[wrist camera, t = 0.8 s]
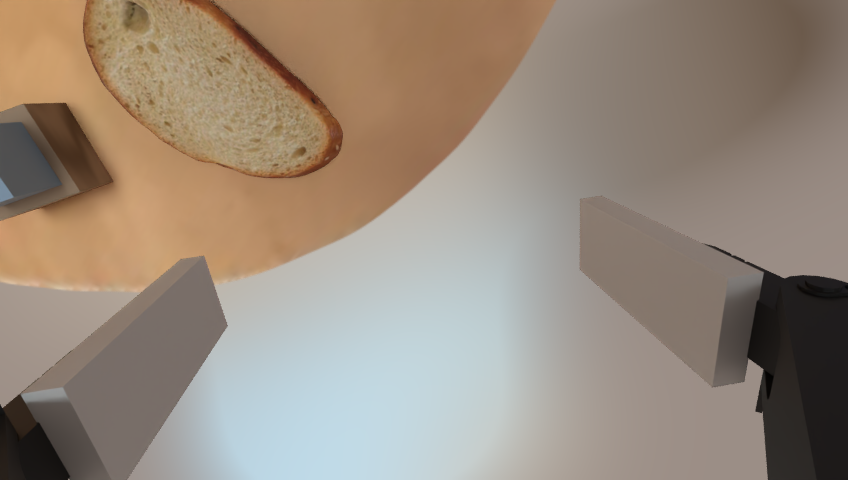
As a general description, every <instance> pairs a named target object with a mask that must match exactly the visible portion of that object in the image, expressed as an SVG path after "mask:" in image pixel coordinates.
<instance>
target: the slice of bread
mask: <svg viewBox="0 0 848 480" xmlns="http://www.w3.org/2000/svg"><path fill="white" fill-rule="evenodd" d="M83 33H84V41H85V45H86V48H87V51H88V53H89V56H90V58H91V61H92V64H93V66H94V68H95V70H96V72H97V74H98V76H99V77H100V79H101V81H102V83H103V84H104V86H105V87H106V88H107V89H108V91H109V92H110V93H111V94H112V95H113V96H114V97H115V98H116V100H117V101H118V102H119V103H120V104H121V105H122V106H123V107H124V108H125V109H126V110H127V111H128V112H129V113H130V114H131V115H132V116H133V117H134V118H135V119H136V120H138V121H139V122H140V123H141V124H142V125H144V126H145V127H147V128H148V129H149V130H150V131H151V132H153V133H154V134H155V135H156V136H157V137H158V138H159V139H160V140H162V141H163V142H165V143H167V144H169V145H170V146H172V147H173V148H175V149H177V150H178V151H180V152H182V153H184V154H186V155H188V156H190V157H192V158H193V159H196V160H198V161H202V162H210V163H216V164H218V165H220V166H223V167H227V168H230V169H233V170H235V171H238V172H241V173H243V174H246V175H250V176H257V177H263V178H291V177H298V176H303V175H306V174H308V173H311V172H314V171H316V170H318V169H320V168H322V167H323V166H325V165H327V164H328V163H329V162H330V161H331V160H332V159H333V158H335V157H336V156H337V155H338V153H339V151H340V149H341V145H342V138H343V133H342V129H341V127H340V125H339V124H338V122H337V120H336V119H335V118H334V117H332V116H331V114H330V113H329V111H328V110H327V109H326V108H325V107H324V105H323V104H322V103H321V102H320V101H319V100H318V98H317V97H316V96H315V95H314V94H313V93H312V92H311V91H310V90H309V89H308V88H307V87H306V86H305V85H304V84H303V83H302V82H301V81H300V80H299V79H297V78H296V77H295V76H294V75H292V74H291V73H290V72H289V71H288V70H287V69H285V68H284V67H283V66H282V65H281V64H280V63H279V62H278V61H277V60H276V59H275V58H274V57H273V56H272V55H270V54H269V53H268V52H267V51H266V50H265V49H264V48H263V47H262V46H261V45H260V44H259V43H258V42H256V41H255V40H254V39H253V38H252V37H251V36H250V35H249V34H248V33H247V32H246V31H245V30H244V29H242V28H241V27H240V26H239V25H238V24H237V23H235V22H234V21H233V20H232V19H231V18H229V17H228V16H227V15H226V14H224V13H223V12H222V11H220V10H219V9H218V8H217V7H216V6H215V5H214V4H212V3H211V2H210V1H209V0H87V3H86V8H85V13H84V20H83Z"/></svg>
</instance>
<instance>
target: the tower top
mask: <svg viewBox="0 0 848 480" xmlns="http://www.w3.org/2000/svg"><path fill="white" fill-rule="evenodd" d="M59 185H62V183H61V182H60V180H59V179H58V177H57V176H56V174H55V173H54V171H53V169H52V168H51V166H50V165H49V163H48V162H47V160H46V159H45V157H44V156H43V154H42V153H41V151H40V150H39V148H38V147H37V145H36V144H35V142H34V141H33V139H32V138H31V136H30V134H29V133H28V131H27V130H26V128H25V127H24V125H23V124H22V122H11V123H0V207H1V206H4V205H7V204H10V203H13V202H15V201H18V200H21V199H24V198H26V197H29V196H32V195H35V194H37V193H40V192H43V191H46V190H48V189H51V188H54V187H57V186H59Z"/></svg>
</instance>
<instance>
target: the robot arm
mask: <svg viewBox="0 0 848 480" xmlns="http://www.w3.org/2000/svg"><path fill="white" fill-rule="evenodd" d="M580 270H581V271H582V272H583V273H584V274H585V275H586V276H588V277H589V278H590V279H591V280H592V281H593V282H594V283H595V284H597V285H598V286H599V287H600V288H601V289H602V290H603V291H604V292H606V293H607V294H608V295H609V296H610V297H611V298H612V299H613V300H615V301H616V302H617V303H618V304H619V305H620V306H621V307H622V308H624V309H625V310H626V311H627V312H628V313H629V314H630V315H631V316H633V317H634V318H635V319H636V320H637V321H638V322H639V323H640V324H642V325H643V326H644V327H645V328H646V329H647V330H648V331H649V332H650V333H652V334H653V335H654V336H655V337H656V338H657V339H658V340H659V341H661V342H662V343H663V344H664V345H665V346H666V347H667V348H668V349H670V350H671V351H672V352H673V353H674V354H675V355H676V356H677V357H679V358H680V359H681V360H682V361H683V362H684V363H685V364H687V365H688V366H689V367H690V368H691V369H692V370H693V371H694V372H696V373H697V374H698V375H699V376H700V377H701V378H702V379H703V380H704V381H706V382H707V383H708V384H709V385H710V386H711V387H718V386H724V385H729V384H734V383H741V382H744V381H745V375H746V370H747V364H748V358H749V359H750V360H752V361H753V362H754V363H756V364H757V365H759V366H760V367H761V368H763V369H764V370H763V375H762V380H761V385H760V390H759V396H758V400H757V406H756V412H760V413H762V411H763V421H764V433H765V447H766V460H767V474H768V480H848V283H846V282H843V281H839V280H836V279H831V278H826V277H820V276H807V275H800V276H790V277H788V278H785V279H784V278H782V277H780V276H778V275H776V274H773V273H771V272H769V271H767V270H765V269H763V268H760V267H758V266H756V265H754V264H752V263H750V262H745V261H744V260H743V259H741V258H739V257H736V256H732V255H731V254H730V253H728V252H726V251H724V250H721V249H719V248H717V247H715V246H710V245H707V244H703V243H700V242H698V241H696V240H694V239H692V238H690V237H688V236H685V235H683V234H681V233H679V232H677V231H675V230H673V229H671V228H668V227H666V226H664V225H662V224H659V223H658V222H656V221H653V220H651V219H649V218H647V217H645V216H643V215H641V214H639V213H636V212H634V211H632V210H630V209H628V208H626V207H624V206H621V205H619V204H617V203H615V202H613V201H611V200H609V199H607V198H605V197H602V196H597V197H591V198H584V199H580ZM227 326H228V325H227V322H226V319H225V316H224V313H223V310H222V308H221V304H220V301H219V298H218V296H217V293H216V290H215V287H214V284H213V281H212V278H211V275H210V272H209V269H208V266H207V263H206V260H205V257H204V256H199V257H192V258H186V259H181V260H179V261H178V262H177V263H176V264H175V265H174V266H172V267H171V268H170V269H169V270H168V271H166V272H165V273H164V274H163V275H162V276H160V277H159V278H158V279H157V280H156V281H154V282H153V283H152V284H151V285H150V286H148V287H147V288H146V289H145V290H144V291H143V292H141V293H140V294H139V295H138V296H137V297H135V298H134V299H133V300H132V301H131V302H129V303H128V304H127V305H126V306H125V307H124V308H122V309H121V310H120V311H119V312H117V313H116V314H115V315H114V316H113V317H112V318H110V319H109V320H108V321H107V322H106V323H104V324H103V325H102V326H101V327H100V328H98V329H97V330H96V331H95V332H94V333H92V334H91V335H90V336H89V337H88V338H87V339H85V340H84V341H83V342H82V343H81V344H80V345H78V346H77V347H76V348H75V349H73V350H72V351H70V352H69V353H68V354H67V355H66V356H64V357H63V358H62V359H61V360H60V361H58V362H57V363H56V364H55V365H54V366H53V367H51V368H50V369H49V370H48V371H47V372H45V373H44V374H43V375H42V376H41V377H40V378H38V379H37V380H36V381H35V382H33V383H32V384H31V385H30V386H29V387H27V388H26V389H25V390H24V391H23V392H21V393H20V394H19V395H18V396H17V397H15V398H14V399H13V400H12V401H11V402H9V403H8V404H7V405H6V406H5V407H3V408H2V407H1V405H0V480H68V479H70V480H127V479H128V478H129V476H130V474H131V473H132V471H133V470H134V468H135V467H136V465H137V464H138V462H139V461H140V459H141V457H142V456H143V455H144V453H145V451H146V450H147V448H148V447H149V445H150V444H151V442H152V441H153V439H154V438H155V436H156V435H157V433H158V431H159V430H160V429H161V427H162V425H163V424H164V422H165V421H166V419H167V418H168V416H169V415H170V413H171V412H172V410H173V409H174V407H175V406H176V404H177V402H178V401H179V399H180V398H181V396H182V395H183V393H184V392H185V390H186V389H187V387H188V386H189V384H190V383H191V381H192V380H193V378H194V376H195V375H196V373H197V372H198V370H199V369H200V367H201V366H202V364H203V363H204V361H205V360H206V358H207V357H208V355H209V354H210V352H211V350H212V349H213V347H214V346H215V344H216V343H217V341H218V340H219V338H220V337H221V335H222V334H223V332H224V331H225V329H226V328H227Z"/></svg>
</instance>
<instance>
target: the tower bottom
mask: <svg viewBox="0 0 848 480" xmlns="http://www.w3.org/2000/svg"><path fill="white" fill-rule="evenodd" d="M11 122H22V124H23V125H24V127H25V128H26V130H27V131H28V133H29V134H30V136H31V138H32V139H33V141H34V142H35V144H36V145H37V147H38V148H39V150H40V151H41V153H42V154H43V156H44V157H45V159H46V160H47V162H48V163H49V165H50V166H51V168H52V169H53V171H54V173H55V174H56V176H57V177H58V179H59V180H60V182H61V183H62V185H59V186H57V187H54V188H51V189H48V190H46V191H43V192H40V193H37V194H35V195H32V196H29V197H26V198H24V199H21V200H18V201H15V202H13V203H10V204H7V205H4V206H1V207H0V221H1V220H4V219H7V218H11V217H14V216H17V215H20V214H23V213H26V212H29V211H32V210H35V209H38V208H41V207H44V206H47V205H50V204H52V203H55V202H58V201H61V200H64V199H66V198H69V197H72V196H75V195H77V194H80V193H83V192H86V191H89V190H91V189H94V188H97V187H100V186H102V185H105V184H108V183H111V182H113V180H112V178H111V177H110V175H109V173H108V172H107V170H106V169H105V167H104V165H103V164H102V162H101V160H100V159H99V157H98V156H97V154H96V152H95V151H94V149H93V147H92V146H91V144H90V142H89V141H88V139H87V138H86V136H85V134H84V133H83V131H82V129H81V128H80V126H79V125H78V123H77V121H76V120H75V118H74V116H73V115H72V113H71V111H70V110H69V108H68V107H67V105H66V103H42V104H21V105H19V106H16V107H13V108H10V109H8V110H5V111H2V112H0V123H11Z"/></svg>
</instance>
